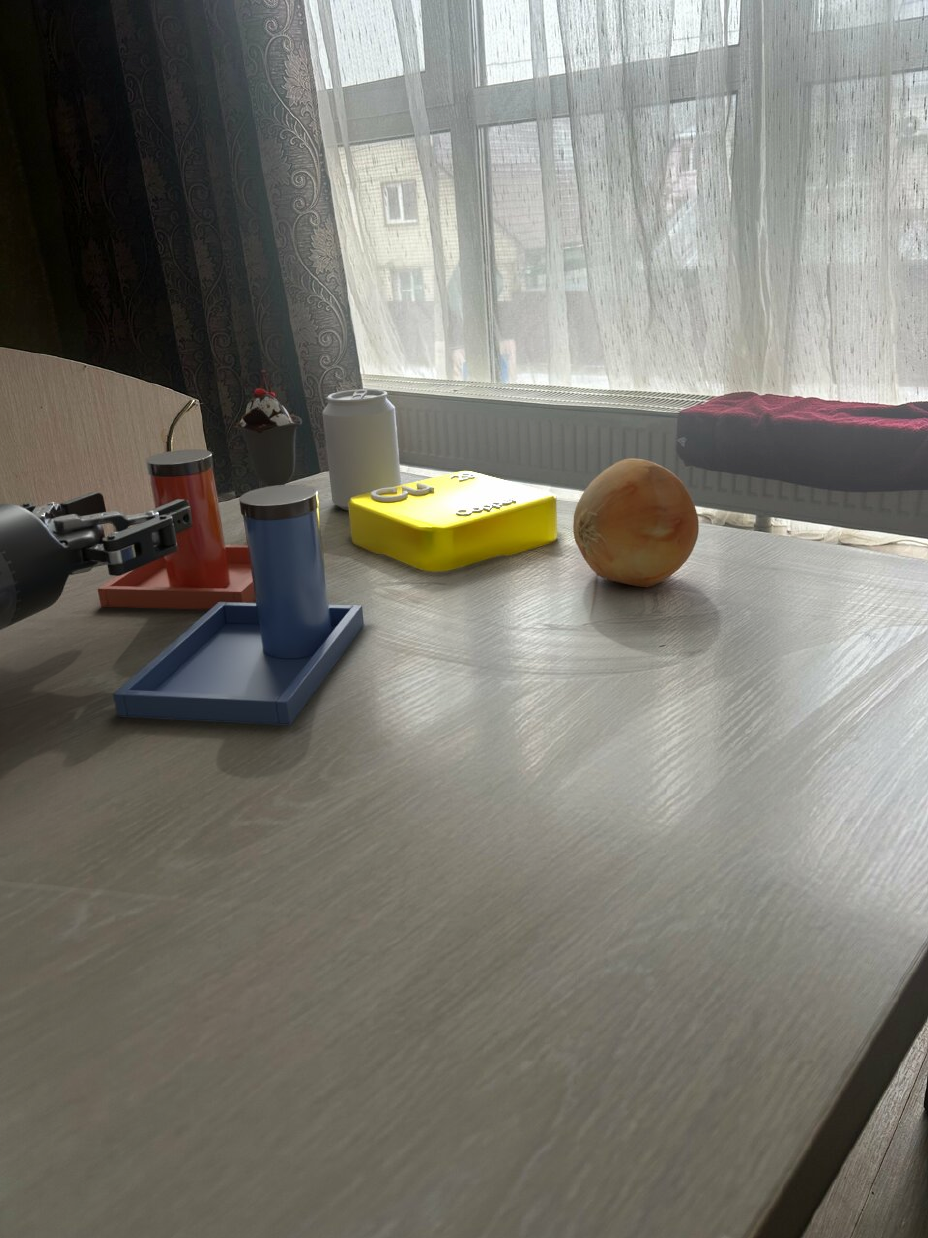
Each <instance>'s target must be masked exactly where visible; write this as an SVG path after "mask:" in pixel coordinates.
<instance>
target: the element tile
mask: <svg viewBox="0 0 928 1238" xmlns="http://www.w3.org/2000/svg"><path fill="white" fill-rule="evenodd" d="M557 503H558V502H557V496H556V495H555V494H553V493H552V492H549V491H545V490H542V489H538V488H534V487H531V486H527V485H523V484H520V483H516V482H512V481H508V480H504V479H501V478H497V477H493V476H490V475H487V474H483V473H478V472H474V471H470V470H461V471H456V472H452V473H447V474H444V475H439V476H434V477H430V478H426V479H422V480H417V481H414V482H409V483H405V484H401V485H400V486H396V487H391V488H381V489H377V490H374V491H372V492H370V493H366V494H362V495H358V496H354V497H352V498H351V499H350V500H349V501H348V507H349V511H348V517H349V526H350V536H351V541H352V543H353V545H355V546H357V547H360V548H362V549H364V550H366V551H369V552H371V553H373V554H375V555H378V554H379V555H385V556H387V557H389V558H392V559H394V560H396V561H399V562H401V563H404V564H406V565H407V566H408V565H409V566H411V567H413V568H415V569H418V570H420V571H423V572H424V571H425V572H434V573H435V572H437V573H438V572H446V571H447V572H448V571H452V570H455V569H459V568H462V567H465V566H469V565H473V564H475V563H479V562H483V561H487V560H489V559H492V558H496V557H500V556H514V555H516V554H521V553H524V552H527V551H530V550H533V549H536V548H540V547H543V546H546V545H550V544H552V543H554V542H555V541H556V540H557V538H558V509H557V508H558V507H557Z"/></svg>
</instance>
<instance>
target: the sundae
mask: <svg viewBox="0 0 928 1238" xmlns="http://www.w3.org/2000/svg"><path fill="white" fill-rule="evenodd" d="M260 373H261V375H262V382H261V385H260V386H259V387H258V388H256V389H254V390H253V391H254V392H253V393H254V395H253V397H252V398H251V399H250V400H249V401H248V402H247V406H246V408H245V413H243V415H242V416H241V418H240V419H241V420H240V421H238V422H237V423H236V425H235V426H234V428H235V429H237V430H239V431H240V432H241V434H242V437H243V439H244V441H245V444H246V449H247V453H248V455H249V459H250V463H251V466H252V469H253V472H254V474H255V477H256V478H258V479H259V481H261V482H262V484H265V485H267V487H269V486H277V485H287V484H286V483H288V482H289V481H290V480H291V478H292V477H293V475H294V474H295V466H296V435H297V428H299V427H300V426H302V425H303V420H302V418H301V417H300V416H297V415H295V414H294V413H292V414H289V412H288V411H287V409H286V408H285V407H284V405H282V404H281V403H280V402H279V401H278V400H277V399H276V394H275V393H274V392H272V389H271V385H270V383H269V380H268V378H267V377H266V375H265V374H266V373H267V372H266V370H265V369H261V370H260ZM265 381H266V385H267V388H268V391H266V390H265V389H264V388H263V386H264V383H265Z"/></svg>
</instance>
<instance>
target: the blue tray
mask: <svg viewBox="0 0 928 1238" xmlns="http://www.w3.org/2000/svg"><path fill="white" fill-rule="evenodd" d="M329 607H330V615H331V624H332V633H331V634H330V635H329V636H328V638H327V639H326V640H325V641H324V643H323V644H322V645H321V646H320V648H319V649H318V650H317V651H316V653H315V654H314V655H312V656H309V657H304V658H296V659H281V658H275V657H272V656H269V655H267V654H266V653H265V652H264V651H263V647H262V640H261V634H260V627H259V620H258V613H257V607H256V602H252V603H235V602H218V603H217V604H216V605H215V606H214V607H213V608H211V609H208V610H207V612H206V613H204V614H203V615H202V616H201V617H200V618H198V620H196V621H195V622H194V623H193V624H191V626H190V627H188V628H187V629H186V630H185V631H184V632H183V633H181V634H180V635H179V636H178V637H177V638H175V639H174V640H173V641H172V642H171V643H170V644H169V645H167V646H166V647H165V648H164V649H163V650H162V651H161V652H160V653H159V654H158V655H156V656H154V658H153V659H151V661H149V662H148V663H147V664H146V665H145V666H144V667H142V668H141V669H140V670H139V671H138V672H137V673H135V674H134V675H133V676H132V677H131V678H130V679H129V680H128V681H126V682H125V683H124V684H123V685H121V687H119V688H118V689H117V690H116V691H115V692H114V693H112V694H113V695H112V697H113V701H114V706H115V710H116V715H117V717H123V718H141V719H142V718H145V719H161V720H163V719H164V720H181V721H183V720H184V721H201V722H219V723H220V722H221V723H239V724H240V723H241V724H259V725H278V726H279V725H281V726H290V725H291V724H293V722H294V720H295V719H296V718H297V716H298V715H299V713H301V711H302V709H303V708H304V707H305V705H306V704H307V703H308V702H309V700H310V699H311V698H312V696H313V694H314V693H315V692H316V690H317V689H318V688H319V686H320V685H321V684H322V682H323V681H324V680H325V678H326V677H327V676H328V674H329V673H330V672H331V671H332V669H333V667H334V666H335V665H336V664H337V662H338V661H339V659H340V658H341V657H342V655H343V654H344V653H345V652H346V650H347V648H349V646H350V644H351V643H352V641H353V640H354V639H355V638H356V636H357V635H358V634H359V632H360V631H361V630H362V628H363V627H364V625H365V621H364V611H363V605H355V604H354V605H353V604H352V605H351V604H329Z"/></svg>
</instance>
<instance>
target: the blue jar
mask: <svg viewBox="0 0 928 1238" xmlns="http://www.w3.org/2000/svg"><path fill="white" fill-rule="evenodd" d="M238 501H239V508H240V513H241V516H242V518H243V525H244V532H245V538H246V543H247V544H246V545H247V546H248V552H249V559H250V566H251V573H252V579H253V586H254V593H255V600H254V601H255V603H256V607H257V613H258V620H259V627H260V634H261V640H262V647H263V651H264V652H265V653H266V654H267V655H269V656H272V657H275V658H281V659H296V658H304V657H309V656H312V655H314V654H315V653H316V651H317V650H318V649H319V648H320V646H321V645H322V644H323V643H324V641H325V640H326V639H327V638H328V636H329V635H330V634H331V633H332V624H331V615H330V607H329V605H330V600H329V589H328V581H327V574H326V564H325V556H324V547H323V538H322V531H321V521H320V513H319V507H320V502H319V492H318V489H317V488H315V487H314V486H310V485H304V484H285V485H277V486H264V487H260V488H256V489H252V490H249V491H247V492H245V493H243V494H242V495H240V496H239V498H238Z"/></svg>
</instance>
